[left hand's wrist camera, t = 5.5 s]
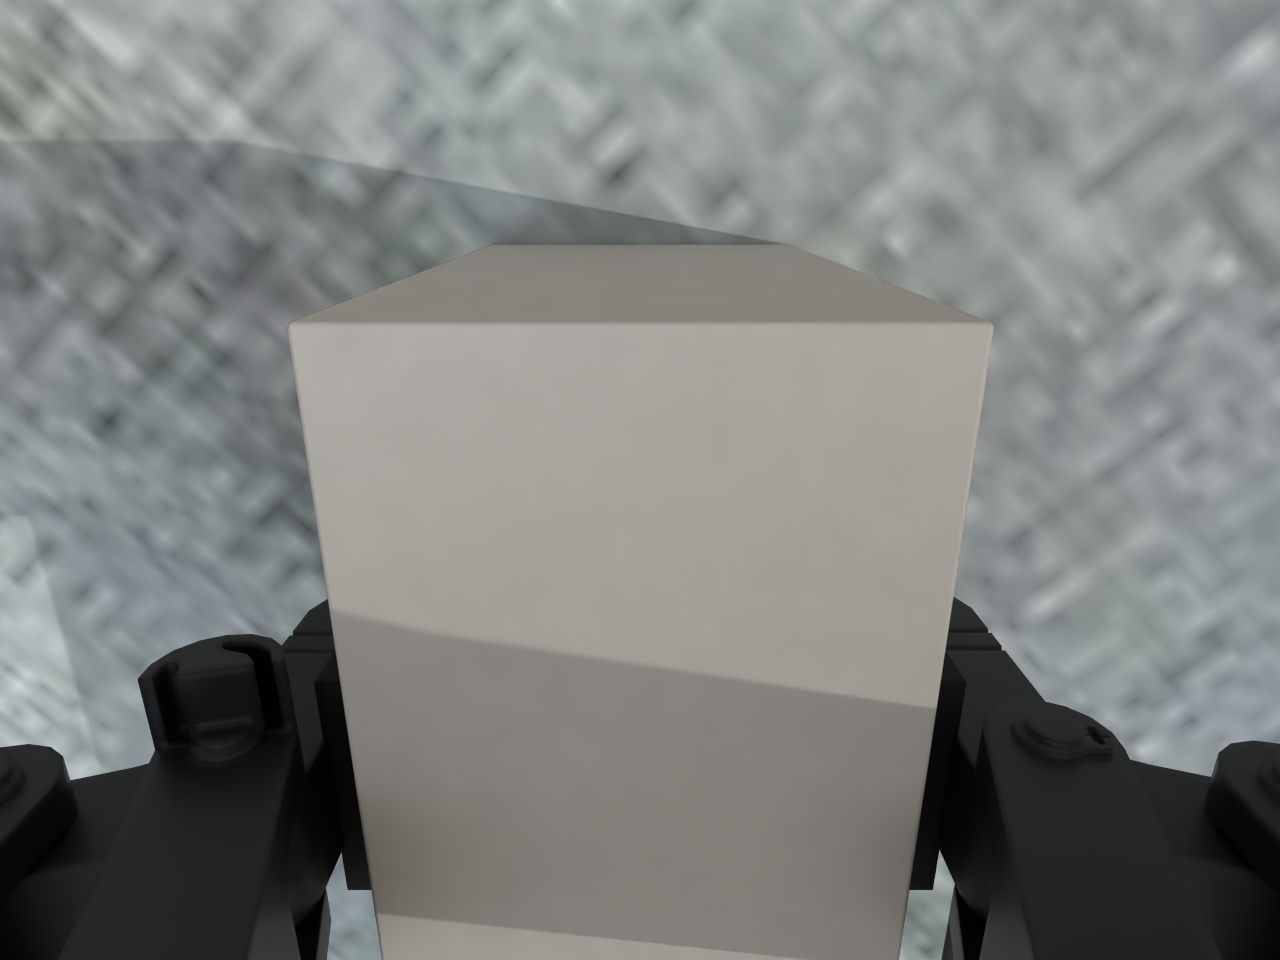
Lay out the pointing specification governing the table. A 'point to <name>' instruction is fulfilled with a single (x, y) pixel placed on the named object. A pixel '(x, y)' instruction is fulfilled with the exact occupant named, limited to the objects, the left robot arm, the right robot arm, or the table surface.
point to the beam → (640, 594)
